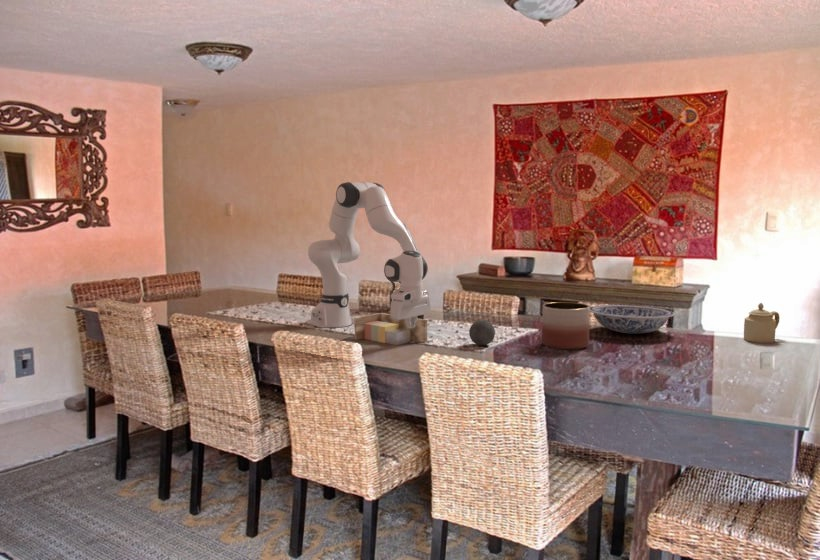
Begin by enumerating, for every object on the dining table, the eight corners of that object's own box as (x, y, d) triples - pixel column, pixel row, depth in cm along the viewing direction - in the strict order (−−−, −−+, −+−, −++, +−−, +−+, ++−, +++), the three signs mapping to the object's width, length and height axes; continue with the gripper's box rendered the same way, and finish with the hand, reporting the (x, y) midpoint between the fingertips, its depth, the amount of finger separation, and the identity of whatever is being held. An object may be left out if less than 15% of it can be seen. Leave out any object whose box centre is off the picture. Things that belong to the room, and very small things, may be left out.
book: (378, 341, 266) (377, 325, 265) (391, 338, 272) (391, 323, 271) (385, 343, 263) (384, 327, 262) (398, 339, 269) (398, 324, 268)
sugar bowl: (749, 334, 273) (751, 298, 271) (779, 337, 266) (781, 301, 264) (740, 340, 261) (742, 303, 259) (771, 344, 254) (774, 305, 252)
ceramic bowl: (686, 331, 279) (687, 308, 278) (652, 345, 254) (653, 319, 253) (610, 322, 303) (611, 300, 301) (572, 333, 278) (573, 310, 277)
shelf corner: (354, 339, 270) (354, 317, 269) (380, 333, 281) (380, 312, 280) (401, 348, 253) (401, 325, 251) (427, 342, 264) (427, 319, 263)
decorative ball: (464, 343, 260) (464, 318, 259) (486, 341, 264) (486, 316, 263) (477, 349, 251) (477, 323, 250) (499, 346, 255) (500, 321, 254)
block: (385, 343, 263) (385, 331, 263) (399, 340, 269) (399, 327, 269) (396, 345, 259) (396, 332, 259) (410, 342, 265) (410, 329, 265)
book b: (371, 340, 269) (371, 324, 268) (385, 337, 274) (384, 321, 274) (378, 341, 266) (378, 325, 265) (392, 338, 272) (391, 322, 271)
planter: (562, 352, 244) (563, 310, 242) (532, 343, 259) (532, 304, 258) (598, 347, 252) (599, 306, 250) (567, 338, 268) (568, 300, 266)
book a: (364, 339, 271) (364, 323, 270) (378, 335, 277) (377, 320, 276) (371, 340, 269) (371, 324, 268) (385, 337, 274) (384, 321, 274)
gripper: (422, 289, 266) (422, 322, 268) (387, 295, 251) (387, 330, 253) (434, 290, 262) (434, 325, 264) (399, 297, 247) (399, 333, 249)
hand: (411, 327), depth 259 cm, fingers closed
